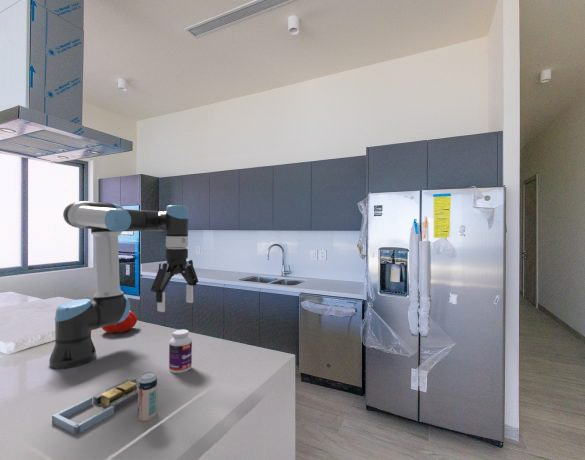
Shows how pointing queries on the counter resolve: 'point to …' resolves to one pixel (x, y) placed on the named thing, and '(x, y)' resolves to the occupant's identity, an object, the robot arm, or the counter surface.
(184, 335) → the pill bottle
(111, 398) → the tan small block
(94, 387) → the counter surface
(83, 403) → the chip tray
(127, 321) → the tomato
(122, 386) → the block
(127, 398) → the slot rail
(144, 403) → the beer can
